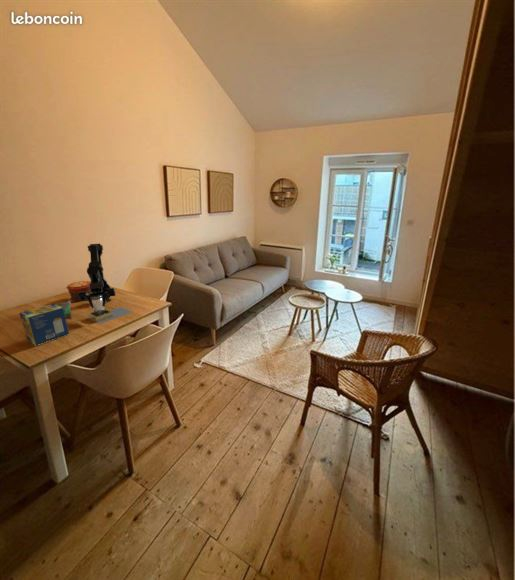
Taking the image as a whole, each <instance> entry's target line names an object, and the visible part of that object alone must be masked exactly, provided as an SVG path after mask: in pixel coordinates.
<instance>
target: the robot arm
mask: <svg viewBox="0 0 515 580" xmlns="http://www.w3.org/2000/svg"><path fill="white" fill-rule="evenodd" d="M87 251H88V252H89V253H90V262H89V263H88V267H87V269H86V273H87V275H88V277H89V279H90V282H91V283H90V291H91V293H86V291H83V292H79V293H78V297H79V299H80V300H85V301H86V302H87V301H88V303H89V305H90V307H91V308H92V309H93V305H92V300H91V296H93V295H97V294H101V295H102V298H103V305H104V307H106V305H107V302H111V301H112V299H111V297H115V296H116V289H115V288H114V287H111V286H110V285H109V283H108V281H107V280H106V279H105V277H104V268H103V264H102V258H101V257H102V255H103V253H104V252H103V251H104V247H103V244H101V243H90V244H89V245H87Z"/></svg>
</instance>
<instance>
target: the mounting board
mask: <svg viewBox="0 0 515 580" xmlns="http://www.w3.org/2000/svg"><path fill="white" fill-rule="evenodd" d="M109 311H111V312H112V314H113V317H111V318H108V319H105V320H102V321H99V322H95V321H93V320H91V322H94V323H96V324H98V325H100V324H104V323H106V322H109V321H112V320H114V319H117V318H120V317H122V316H125V315H126V316H127V315H129V314H130V313H134V311H133V310H130V309H127V308H124V307H122V306H120V307H116V308H112V309H111V310H109ZM86 319H88V317H86ZM88 320H89V319H88Z"/></svg>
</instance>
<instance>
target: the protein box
mask: <svg viewBox="0 0 515 580" xmlns="http://www.w3.org/2000/svg"><path fill="white" fill-rule="evenodd" d="M55 304H56V303H50V304H47V305H44V306H43V305H42V306H39V307H36V308H32V309H29V310H25V311H22V312H19V314H18V315H19V316H20V320H21V324H22V326H23V327H22V328H23V330H24V333H25V337H26V341H27V340H28V341H27V342H29V343H30V342H31V343H30V344H31V345H33V344H34V345H38V344H41V343H44V342H46V341H49V340H52V339H55V338H58V337H61V336H64V335H66V336H68V335H67V334H69V335H70V332H69V331H70V330H69V328H68V324H67V320H66V319H65V315H64V311H63V308H62V307H60V306H58V305H55ZM64 337H65V336H64ZM61 338H62V337H61ZM58 339H59V338H58ZM55 340H56V339H55ZM44 344H45V343H44ZM34 345H33V346H34Z"/></svg>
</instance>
